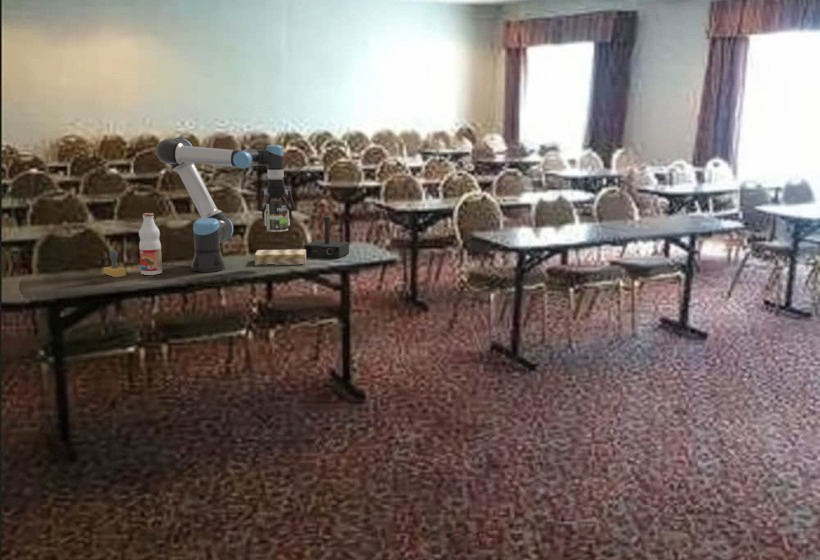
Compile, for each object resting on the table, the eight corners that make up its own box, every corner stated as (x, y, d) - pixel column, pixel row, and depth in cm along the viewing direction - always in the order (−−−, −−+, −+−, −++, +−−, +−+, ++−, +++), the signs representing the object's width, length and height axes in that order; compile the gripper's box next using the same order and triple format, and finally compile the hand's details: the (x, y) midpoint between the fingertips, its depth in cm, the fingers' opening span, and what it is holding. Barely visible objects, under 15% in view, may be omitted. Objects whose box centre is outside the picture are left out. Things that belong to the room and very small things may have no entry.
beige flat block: (255, 265, 421) (254, 255, 420) (257, 259, 435) (257, 250, 434) (305, 264, 423) (304, 254, 422) (306, 259, 437) (305, 249, 436)
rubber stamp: (126, 276, 395) (124, 250, 392) (114, 278, 391) (112, 252, 388) (115, 273, 402) (113, 247, 399) (103, 275, 398) (101, 249, 395)
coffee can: (292, 230, 416) (292, 200, 413) (276, 232, 408) (275, 202, 405) (278, 228, 422) (277, 198, 419) (261, 230, 414) (260, 200, 411)
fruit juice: (166, 274, 399) (162, 213, 393) (147, 277, 393) (143, 215, 387) (156, 271, 406) (152, 211, 400) (137, 274, 400) (133, 213, 394)
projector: (302, 257, 443) (301, 218, 438) (315, 252, 458) (314, 214, 454) (337, 259, 437) (337, 220, 433) (349, 254, 453) (349, 215, 449)
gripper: (250, 179, 406) (252, 226, 410) (299, 179, 407) (300, 226, 411) (252, 177, 413) (254, 224, 418) (300, 177, 414) (301, 224, 419)
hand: (277, 225), depth 414 cm, fingers closed on coffee can, 10 cm apart
